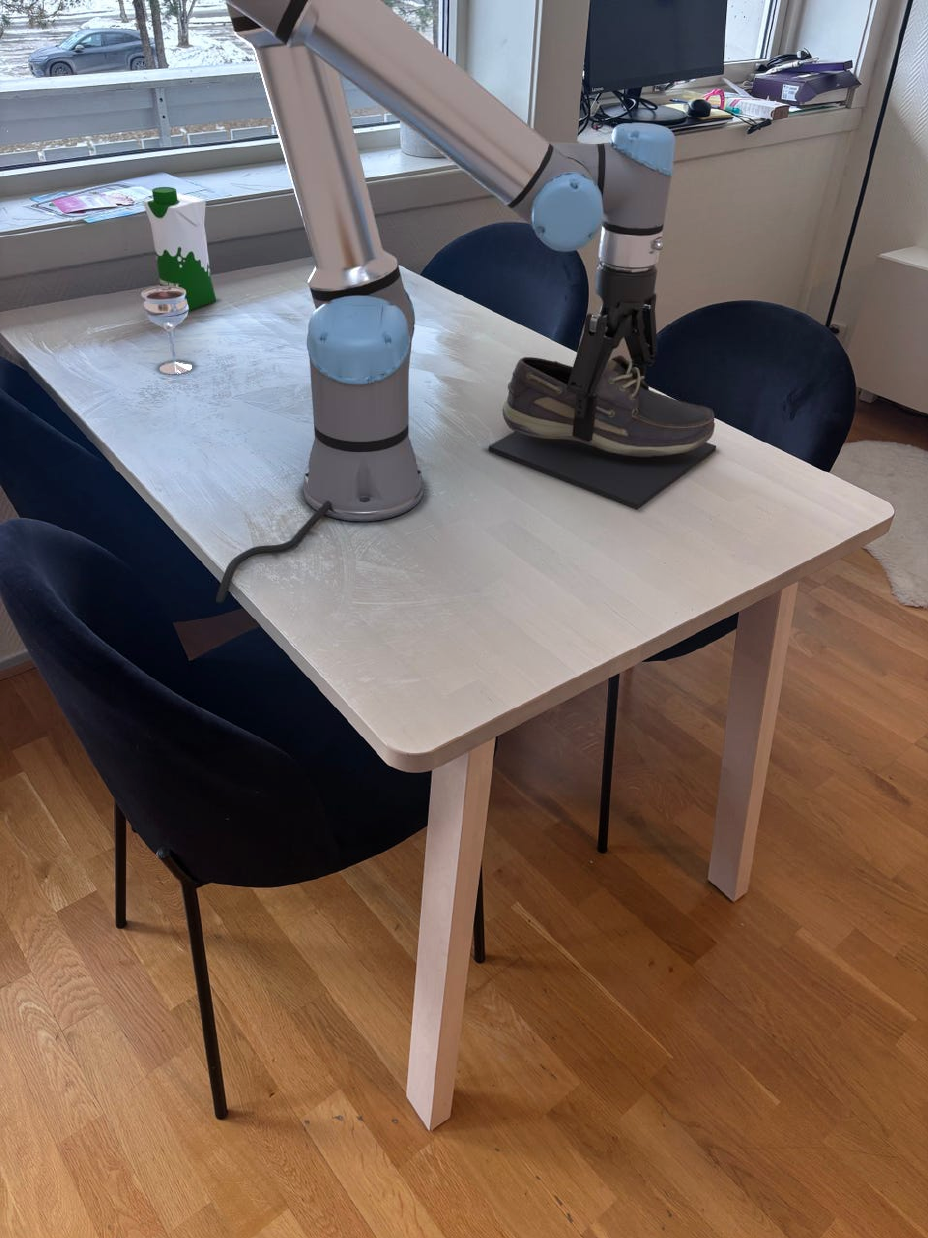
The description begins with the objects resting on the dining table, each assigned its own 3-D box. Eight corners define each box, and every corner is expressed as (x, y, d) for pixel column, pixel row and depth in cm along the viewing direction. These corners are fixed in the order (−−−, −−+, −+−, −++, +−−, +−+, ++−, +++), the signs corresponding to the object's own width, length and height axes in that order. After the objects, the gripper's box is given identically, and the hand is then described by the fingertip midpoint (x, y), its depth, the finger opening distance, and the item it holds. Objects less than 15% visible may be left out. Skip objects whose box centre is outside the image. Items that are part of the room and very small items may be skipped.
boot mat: (637, 509, 122) (637, 504, 122) (488, 451, 134) (488, 445, 133) (715, 450, 136) (716, 445, 136) (574, 402, 148) (575, 397, 147)
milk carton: (154, 303, 176) (135, 187, 164) (189, 290, 183) (174, 178, 171) (188, 313, 173) (172, 196, 161) (223, 300, 179) (210, 186, 167)
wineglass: (145, 373, 151) (132, 297, 144) (166, 357, 156) (154, 283, 149) (185, 378, 150) (173, 302, 143) (204, 362, 155) (194, 288, 148)
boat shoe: (710, 468, 127) (726, 392, 120) (493, 441, 131) (498, 366, 125) (709, 434, 135) (724, 361, 129) (507, 409, 140) (511, 338, 133)
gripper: (601, 293, 110) (582, 461, 123) (700, 248, 125) (673, 402, 138) (548, 278, 113) (534, 443, 126) (650, 237, 129) (628, 388, 142)
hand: (607, 422), depth 132 cm, fingers closed on boat shoe, 12 cm apart
